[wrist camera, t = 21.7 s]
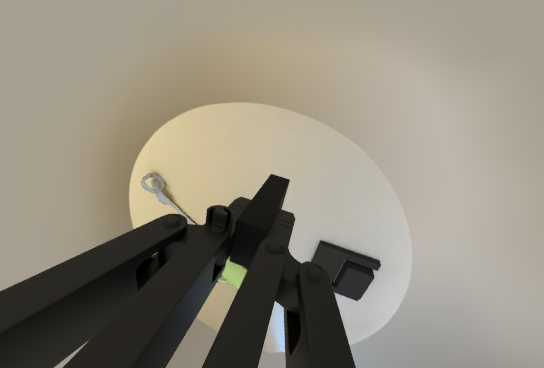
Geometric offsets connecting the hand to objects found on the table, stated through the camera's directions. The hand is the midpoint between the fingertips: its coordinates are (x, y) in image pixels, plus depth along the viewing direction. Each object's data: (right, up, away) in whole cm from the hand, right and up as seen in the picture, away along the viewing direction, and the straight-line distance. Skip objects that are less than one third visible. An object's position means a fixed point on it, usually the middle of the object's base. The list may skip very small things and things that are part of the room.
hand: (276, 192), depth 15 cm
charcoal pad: (+20, -22, +33) cm, 44 cm away
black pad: (+16, -21, +34) cm, 43 cm away
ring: (-30, +2, +37) cm, 48 cm away
